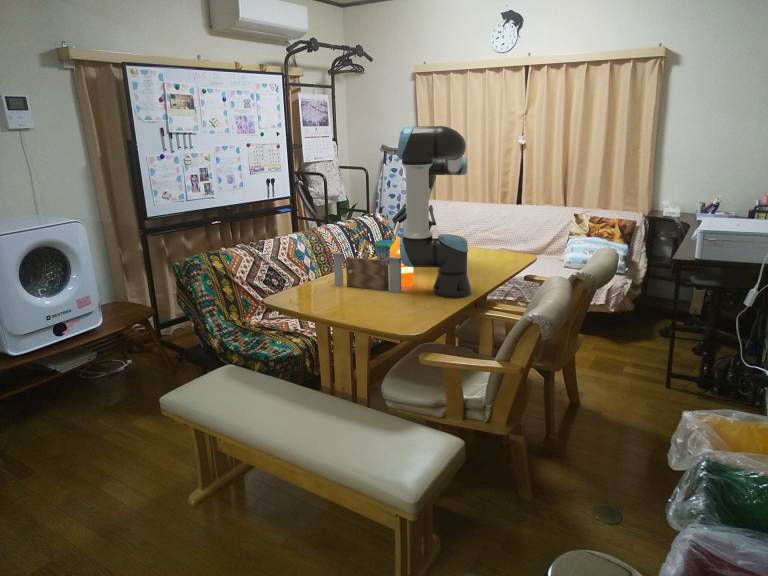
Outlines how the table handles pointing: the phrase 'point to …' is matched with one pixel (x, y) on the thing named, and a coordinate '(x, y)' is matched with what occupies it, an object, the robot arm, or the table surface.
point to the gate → (367, 273)
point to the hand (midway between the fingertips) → (409, 236)
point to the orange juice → (405, 271)
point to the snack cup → (383, 249)
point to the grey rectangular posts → (393, 272)
